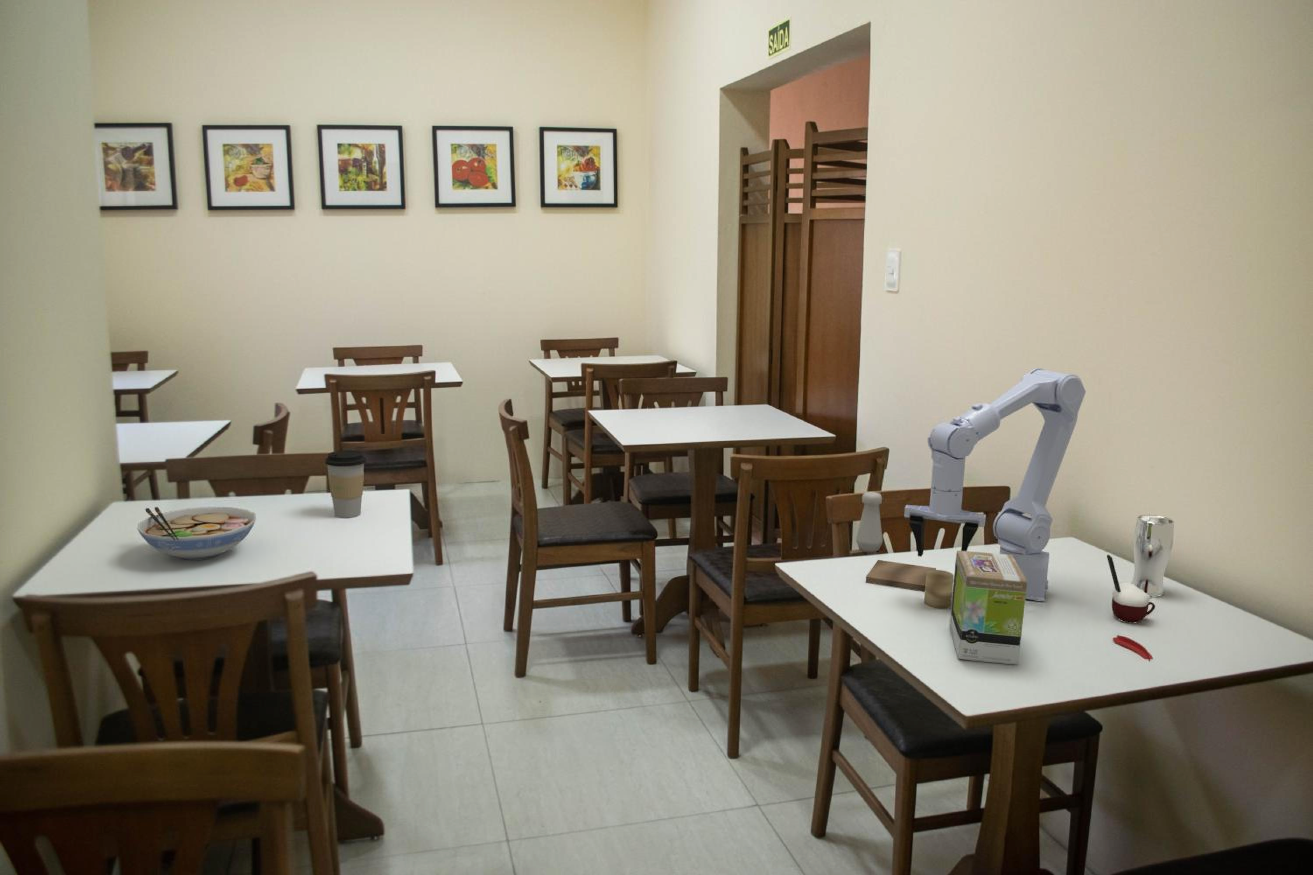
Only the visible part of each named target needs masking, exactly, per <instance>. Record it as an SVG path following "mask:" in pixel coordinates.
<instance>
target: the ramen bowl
mask: <svg viewBox="0 0 1313 875" xmlns="http://www.w3.org/2000/svg"><path fill="white" fill-rule="evenodd" d="M154 511H155V513H156V515H155V513H153V511H152V510H151V509H150V508H149V507H145V513H147V514H148V515H149V517H147V518H145V519H144V520H142V521H140V522H139V523H138V525H137V532H138V533H139V535H140V536H141V537H142V538H143V540H144V541H145V542H147V544H149V545H150V546H151V547H152V548H153V549H155V550H157V551H158V552H160V553H162V554H165V555H168V556H170V557H171V556H172V557H177V558H182V559H183V560H188V561H189V560H190V561H201V560H206V559H207V560H208V559H212V558H214V557H217V556H218V555H220V554H222V553H224V552H227V551H229V550H232V549H233V548H235V547H236V546H237V545H238V544H240V543H242V542H243V541H244V540H245V538H246V537H247V536H248V535H249V533H250V532H251V531H252V529H253V527H254V525H255V522H256V520H257V516H256V513H255V512H252V511H250V510H248V509H244V508H238V507H232V506H204V507H190V508H183V509H177V510H172V511H167V512H166V511H165V512H161V510H160V508H159V507H158V506H155V507H154Z"/></svg>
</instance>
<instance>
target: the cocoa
mask: <svg viewBox="0 0 1313 875" xmlns="http://www.w3.org/2000/svg"><path fill="white" fill-rule="evenodd" d="M1106 560H1107V562H1108V567H1109V570H1110V573H1111V577H1112V580H1113V585H1114V587H1113V590H1112V592H1111V594H1112V597H1111V609H1112V614H1113V615H1114V616H1115V617H1116V618H1117V619H1118V620H1119V619H1120V620H1119V621H1121V620H1122V622H1124V621H1125V622H1124V623H1129V622H1131V624H1135V623H1134V622H1137V623H1139V622H1141V621H1144V619H1145V618H1146V617H1147V616H1149V615H1150V614H1152V613H1153V612H1154V610H1155V608H1156V604H1155V603H1154V602H1152V601H1150V599H1151V597H1150V596H1149V595H1148V594H1146V593H1145V592H1144V591H1143V590H1141V589H1139V588H1138V587H1136V586H1135V585H1133V584H1131V583H1132V582H1119V579H1118V575H1117V570H1116V567H1115V564H1114V563H1115V562H1114V560H1113V557H1112V556H1111V555H1110V554H1107V555H1106ZM1149 606H1151V608H1150V609H1149Z"/></svg>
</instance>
